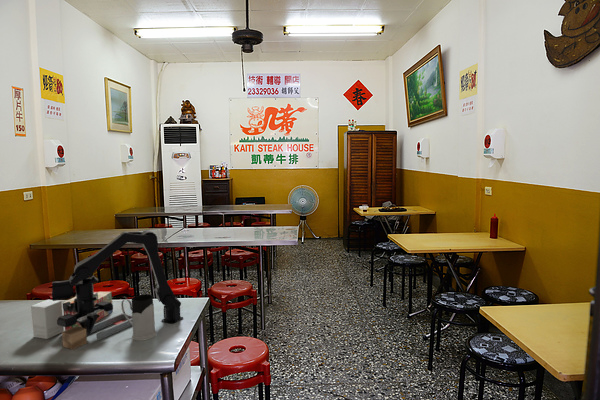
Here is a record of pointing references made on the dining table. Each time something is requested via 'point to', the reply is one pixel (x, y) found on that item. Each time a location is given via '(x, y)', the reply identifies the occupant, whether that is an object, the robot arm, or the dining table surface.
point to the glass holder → (142, 317)
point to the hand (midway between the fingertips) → (87, 335)
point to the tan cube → (74, 337)
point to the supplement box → (46, 319)
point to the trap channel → (119, 325)
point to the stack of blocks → (99, 298)
